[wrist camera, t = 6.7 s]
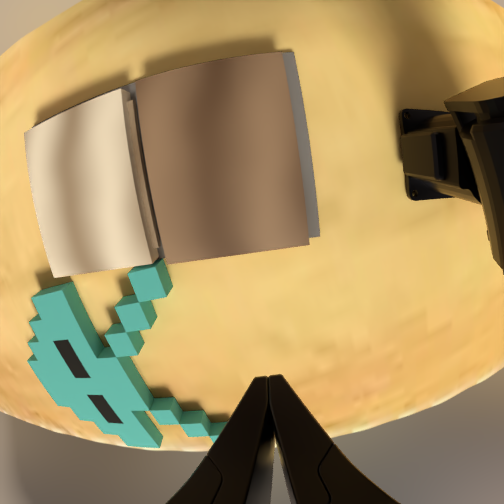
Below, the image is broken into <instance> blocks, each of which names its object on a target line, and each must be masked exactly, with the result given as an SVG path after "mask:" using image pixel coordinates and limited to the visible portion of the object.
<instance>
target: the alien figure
mask: <svg viewBox="0 0 504 504" xmlns="http://www.w3.org/2000/svg"><path fill="white" fill-rule="evenodd" d="M128 277H129V279H130V282H131V284H132V287H133V289H134V292H135V294H134V295H129V296H124V297H123V298H122V299H121V300H120V301H119V302H118V303H117V305H116V306H115V310H116V312H117V314H118V316H119V318H120V320H121V323H117V324H113V325H112V326H111V327H110V328H109V330H108V331H107V332H106V334H105V337H106V339H107V341H108V343H109V345H110V347H104V345H103V344H102V342H101V340H100V338H99V336H98V334H97V332H96V330H95V328H94V326H93V324H92V322H91V320H90V318H89V316H88V314H87V312H86V310H85V308H84V306H83V304H82V301H81V299H80V297H79V295H78V292H77V290H76V288H75V285H74V283H73V282H69V283H65V284H61V285H58V286H54V287H50V288H47V289H43V290H41V291H40V292H38V293H37V294H36V295H34V296H33V297H32V298H31V299H32V301H33V303H34V305H35V307H36V309H37V311H38V313H39V314H37V315H36V316H35V317H34V318H33V319H32V320H31V321H29V324H30V325H31V327H32V329H33V331H34V333H35V336H34V337H33V338H32V339H31V340H30V341H29V342H28V345H29V346H30V348H31V350H32V352H33V353H34V354H33V355H32V356H31V357H30V358H29V359H28V360H27V361H28V363H29V365H30V366H31V368H32V369H33V371H34V373H35V374H36V376H37V377H38V379H39V380H40V382H41V383H42V384H43V386H44V387H45V389H46V390H47V392H48V393H49V394H50V396H51V397H52V398H53V400H54V401H55V402H56V404H57V405H58V406H65V407H70V408H71V409H72V410H73V412H74V413H75V414H76V415H77V417H78V418H79V419H80V420H84V421H93V422H94V423H95V424H96V425H97V426H98V428H99V429H100V430H101V431H102V432H103V433H104V434H113V435H119V437H120V438H121V439H122V440H123V441H124V442H125V443H126V445H127V446H136V447H152V448H160V446H161V442H162V439H163V436H162V434H161V433H160V432H159V430H158V429H157V428H156V426H155V425H154V424H153V422H152V421H151V420H150V418H149V417H148V416H147V414H146V413H145V411H150V412H151V413H152V415H153V416H154V417H155V419H156V420H157V422H158V423H159V424H160V425H173V424H180V425H181V427H182V428H183V430H184V431H185V433H186V434H187V435H188V437H199V436H210V438H211V439H212V441H213V443H214V442H215V441H216V439H217V438H218V436H219V434H220V433H221V431H222V430H223V428H224V427H225V425H226V423H227V422H219V423H211V422H210V420H209V419H208V417H207V415H206V413H205V412H204V410H199V411H184V412H183V411H182V409H181V407H180V406H179V404H178V403H177V401H176V399H175V398H174V397H168V398H154V397H153V395H152V394H151V392H150V391H149V389H148V387H147V386H146V384H145V382H144V381H143V379H142V377H141V376H140V374H139V372H138V371H137V369H136V367H135V365H134V364H133V362H132V360H131V358H130V356H134V355H138V354H139V352H140V350H141V349H142V347H143V345H144V341H143V339H142V337H141V335H140V332H139V330H145V329H151V327H152V325H153V324H154V322H155V320H156V318H157V315H156V312H155V310H154V308H153V305H152V303H151V301H150V300H154V299H159V298H164V297H167V295H168V294H169V292H170V290H171V289H172V287H173V285H172V282H171V279H170V277H169V274H168V271H167V268H166V265H165V263H164V260H163V258H162V259H158V260H155V261H154V263H153V264H148V265H141V266H135V267H134V268H133V269H132V270H131V271H130V272H129V273H128Z"/></svg>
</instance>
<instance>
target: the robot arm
mask: <svg viewBox="0 0 504 504" xmlns="http://www.w3.org/2000/svg"><path fill="white" fill-rule="evenodd" d="M444 104H445V106H446V108H447V110H448V111H450V112H442V111H431V110H418V109H403V110H401V111H400V112H399V120H400V127H401V134H402V136H401V138H400V139H401V148H402V158H403V169H404V173H405V174H406V190H407V196H408V198H409V199H410V200H414V201H418V200H429V199H440V198H453V197H457V198H460V199H464V200H467V201H471V202H474V203H477V204H480V205H482V207H483V211H484V215H485V220H486V224H487V229H488V230H487V235H488V240H489V241H490V246H491V250H492V255H493V258H494V260H495V261H496V262H497V264H498V265H499V266H500V267H501V268H502V269H503V274H504V77H502V78H497V79H493V80H489V81H486V82H484V83H481V84H479V85H477V86H475V87H473V88H471V89H468V90H466V91H464V92H462V93H460V94H458V95H456V96H454V97H451V98H449V99H447V100H445V101H444ZM405 113H406V114H407V116H408V119H406V118H405V116H404V115H405ZM413 191H415V195H414V196H413V195H412V192H413ZM275 439H276V444H277V449H278V453H279V457H280V461H281V465H282V469H283V473H284V477H285V482H286V486H287V490H288V494H289V497H290V502H291V504H401V503H399V502H397V501H396V500H395V499H393V498H392V497H391V496H389V495H388V494H387V493H386V492H384V491H383V490H382V489H381V488H379V487H378V486H377V485H376V484H375V483H373V482H372V481H371V480H370V479H369V478H367V477H366V476H365V475H364V474H363V473H362V472H361V471H360V470H359V469H358V468H356V467H355V466H354V465H353V464H352V463H351V462H350V460H349V459H348V458H347V457H346V456H345V455H344V454H343V453H342V451H341V450H340V449H339V448H338V447H337V445H336V444H334V442H333V441H332V439H331V438H330V437H329V435H328V434H327V433H326V432H325V430H324V429H323V428H322V427H321V425H320V424H319V423H318V421H317V420H316V419H315V418H314V416H313V415H312V414H311V412H310V411H309V410H308V409H307V407H306V406H305V405H304V403H303V402H302V401H301V399H300V398H299V397H298V395H297V394H296V393H295V391H294V390H293V389H292V387H291V386H290V385H289V383H288V382H287V381H286V379H285V378H284V377H283V375H281V374H277V375H270V376H269V377H267V376H260V377H255V378H254V379H253V381H252V382H251V384H250V386H249V387H248V389H247V391H246V392H245V394H244V396H243V397H242V399H241V401H240V402H239V404H238V406H237V407H236V409H235V411H234V412H233V414H232V415H231V417H230V419H229V420H228V422H227V423H226V425H225V427H224V428H223V430H222V431H221V433H220V434H219V436H218V438H217V439H216V441H215V442H214V444H213V445H212V447H211V448H210V450H209V451H208V453H207V456H205V457H204V459H203V460H202V462H201V463H200V465H199V466H198V467H197V469H196V470H195V471H194V473H193V474H192V475H191V477H190V478H189V479H188V480H187V481H186V482H185V484H184V485H183V486H182V487H181V488H180V489H179V490H178V491H177V492H176V493H175V494H174V495H173V496H172V497H171V499H170V500H169V501H168V502H167V503H166V504H270V502H271V490H272V476H273V463H274V449H275Z"/></svg>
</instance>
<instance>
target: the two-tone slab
mask: <svg viewBox="0 0 504 504" xmlns="http://www.w3.org/2000/svg"><path fill="white" fill-rule="evenodd" d="M118 89H123V90H126V91H128V92H130V96H131V100H134V101H136V110H137V118H138V125H139V133H140V139H141V146H142V153H143V159H144V165H145V171H146V176H147V182H148V187H149V192H150V197H151V202H152V207H153V212H154V217H155V222H156V226H157V231H158V235H159V239H160V244H161V246H160V247H159V248H157V250H158V254H159V257H158V258H157V259H162V258H166V262H167V265H168V264H175V263H182V262H189V261H197V260H204V259H211V258H218V257H226V256H233V255H240V254H247V253H254V252H262V251H269V250H276V249H283V248H291V247H298V246H305V245H310V244H309V238H311V237H319V236H320V229H319V218H318V208H317V198H316V189H315V180H314V172H313V164H312V156H311V149H310V142H309V135H308V129H307V122H306V116H305V110H304V104H303V98H302V92H301V87H300V81H299V76H298V71H297V66H296V61H295V56H294V52H286V53H282V52H272V53H262V54H253V55H246V56H239V57H232V58H226V59H220V60H215V61H210V62H205V63H200V64H195V65H191V66H186V67H182V68H178V69H174V70H170V71H167V72H163V73H159V74H156V75H153V76H149V77H146V78H143V79H140V80H136V81H135V82H134V83H131V84H128V85H125V86H122V87H119V88H117V89H114V90H111V91H109V92H106V93H103V94H101V95H98V96H96V97H93V98H91V99H89V100H92V99H94V98H97V97H99V96H102V95H104V94H107V93H110V92H112V91H115V90H118ZM89 100H86V101H84V102H82V103H85V102H87V101H89ZM82 103H79V104H77V105H75V106H73V107H76V106H78V105H80V104H82ZM73 107H71V108H73ZM71 108H68V109H66V110H64V111H62V112H60V113H58V114H56V115H59V114H61V113H63V112H65V111H67V110H69V109H71ZM56 115H54V116H56ZM54 116H52V117H54ZM52 117H50V118H48V119H46V120H44V121H43V122H45V121H47V120H49V119H51V118H52ZM43 122H41V123H43ZM41 123H39V124H41ZM39 124H37V125H39ZM37 125H35V126H37ZM35 126H33V127H32V128H34V127H35Z"/></svg>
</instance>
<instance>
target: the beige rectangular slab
mask: <svg viewBox="0 0 504 504" xmlns="http://www.w3.org/2000/svg"><path fill="white" fill-rule="evenodd" d="M24 138H25V149H26V158H27V166H28V173H29V179H30V185H31V191H32V197H33V202H34V207H35V211H36V216H37V220H38V224H39V229H40V232H41V236H42V240H43V244H44V247H45V251H46V254H47V258H48V261H49V264H50V267H51V270H52V273H53V276H54V278H57V277H64V276H71V275H78V274H85V273H92V272H99V271H106V270H113V269H120V268H127V267H134V266H141V265H148V264H153V263H154V261H155V260H156V259H157V258H158V257H159V254H158V250H157V248H159V247H160V246H161V244H160V239H159V235H158V231H157V226H156V222H155V217H154V212H153V207H152V202H151V197H150V192H149V187H148V182H147V176H146V171H145V165H144V159H143V153H142V146H141V139H140V133H139V125H138V118H137V110H136V101H134V100H131V96H130V92H128V91H126V90H123V89H118V90H115V91H112V92H110V93H107V94H104V95H102V96H99V97H97V98H94V99H92V100H89V101H87V102H85V103H82V104H80V105H78V106H76V107H73V108H71V109H69V110H67V111H65V112H63V113H61V114H59V115H56V116H54V117H52V118H51V119H49V120H47V121H45V122H43V123H41V124H39V125H37V126H35V127H34V128H32V129H30V130H28V131H26V132H25V133H24Z"/></svg>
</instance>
